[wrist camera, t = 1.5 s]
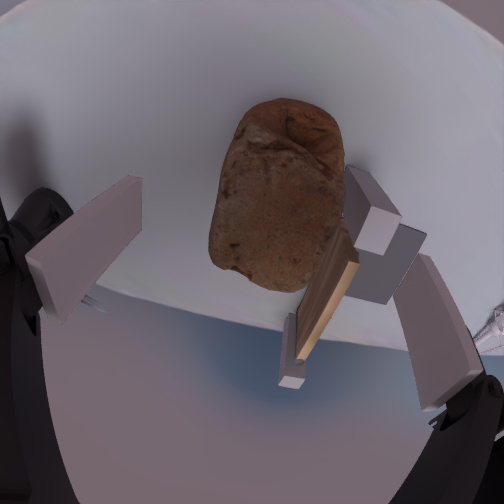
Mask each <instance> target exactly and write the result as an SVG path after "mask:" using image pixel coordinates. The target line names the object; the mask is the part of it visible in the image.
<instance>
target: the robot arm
mask: <svg viewBox="0 0 504 504" xmlns="http://www.w3.org/2000/svg"><path fill="white" fill-rule="evenodd" d="M142 179H143V178H140V177H134V176H129V175H128V176H127V177H125V178H124V179H122V180H121V181H119V182H118V183H116V184H115V185H113V186H112V187H110V188H109V189H107V190H106V191H105V192H103V193H102V194H100V195H99V196H97V197H96V198H95V199H93V200H92V201H90V202H89V203H88V204H86V205H85V206H84V207H82V208H81V209H80V210H78V211H77V212H76V213H74V214H73V212H72V211H71V209H70V207H69V206H68V205H67V203H66V202H65V201H64V200H63V199H62V198H61V197H60V196H59V195H58V194H57V193H55V192H54V191H52V190H50V189H46V188H41V189H38V190H36V191H34V192H33V193H31V194H30V195H28V196H27V197H26V199H25V200H24V202H23V203H22V204H21V206H20V207H19V208H18V210H17V211H16V213H15V214H14V216H13V217H12V218H11V219H10V220H9V221H7V218H6V215H5V211H4V208H3V205H2V201H1V198H0V504H80V503H79V502H78V500H77V498H76V496H75V493H74V491H73V488H72V486H71V483H70V480H69V478H68V475H67V472H66V469H65V466H64V463H63V460H62V457H61V453H60V450H59V446H58V443H57V439H56V435H55V431H54V427H53V422H52V418H51V414H50V408H49V403H48V397H47V391H46V385H45V377H44V369H43V359H42V347H41V330H40V329H41V327H40V316H39V313H38V311H39V310H40V309H41V307H42V306H43V308H44V310H45V312H46V315H47V317H48V318H50V319H52V320H54V321H56V322H57V323H59V324H61V325H63V324H64V322H65V321H66V319H67V318H68V317H69V315H70V314H71V313H72V311H73V310H74V309H75V308H76V306H77V305H78V304H79V302H80V301H81V300H82V298H83V297H84V296H85V295H86V293H87V292H88V291H89V290H90V288H91V287H92V286H93V285H94V284H95V282H96V281H97V280H98V279H99V277H100V276H101V275H102V274H103V273H104V271H105V270H106V269H107V268H108V267H109V266H110V264H111V263H112V262H113V261H114V260H115V259H116V258H117V256H118V255H119V254H120V253H121V252H122V251H123V250H124V248H125V247H126V246H127V245H128V244H129V243H130V242H131V241H132V240H133V239H134V237H135V236H136V235H137V234H138V233H139V232H140V231H141V230H142ZM393 298H394V302H395V305H396V308H397V311H398V314H399V318H400V321H401V325H402V328H403V332H404V335H405V339H406V343H407V347H408V350H409V354H410V359H411V363H412V367H413V371H414V376H415V381H416V385H417V390H418V395H419V401H420V406H421V411H435V410H437V409H438V408H439V407H441V406H442V405H443V404H445V403H446V407H447V409H446V410H445V411H443V412H442V413H441V414H439V415H438V416H437V417H435V418H434V419H432V420H431V421H430V422H429V425H431V424H432V423H433V422H435V421H438V422H437V424H436V425H434V426H433V428H434V430H433V432H432V434H431V436H430V438H429V440H428V442H427V444H426V446H425V447H424V449H423V451H422V453H421V455H420V456H419V458H418V460H417V462H416V463H415V465H414V467H413V468H412V470H411V471H410V473H409V475H408V476H407V478H406V479H405V481H404V482H403V484H402V485H401V487H400V489H399V490H398V491H397V493H396V494H395V496H394V497H393V498H392V500H391V501H390V503H389V504H504V436H503V437H501V438H500V439H498V440H497V441H495V442H494V440H495V436H496V435H497V434H498V433H500V432H501V431H503V430H504V392H503V388H502V385H501V383H500V382H499V381H498V379H497V378H496V377H494V376H493V375H486V372H485V369H484V366H483V364H482V361H481V358H480V355H479V353H478V350H477V348H476V345H475V343H474V341H473V338H472V336H471V333H470V331H469V329H468V328H467V326H466V325H465V323H464V321H463V318H462V316H461V314H460V312H459V310H458V308H457V306H456V304H455V302H454V300H453V298H452V296H451V294H450V292H449V290H448V288H447V286H446V284H445V282H444V281H443V279H442V277H441V275H440V273H439V272H438V270H437V268H436V266H435V265H434V263H433V261H432V259H431V258H430V257H429V256H427V255H424V254H421V253H418V254H417V256H416V258H415V259H414V261H413V263H412V265H411V266H410V268H409V270H408V271H407V273H406V275H405V276H404V278H403V280H402V281H401V283H400V285H399V286H398V288H397V289H396V291H395V292H394V294H393Z"/></svg>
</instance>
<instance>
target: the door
mask: <svg viewBox="0 0 504 504" xmlns="http://www.w3.org/2000/svg"><path fill="white" fill-rule="evenodd" d="M358 258H359V252H357V251H356V249H355V247H353V243H352V240H351V237H350V234H349V230H348V227H347V224H346V221H345V219H342V218H340V222H339V225H338V228H337V230H336V233H335V235H334V238H333V240H332V242H331V245H330V247H329V249H328V251H327V253H326V255H325V257H324V260H323V263H322V265H321V268H320V269H319V271H318V273H317V274H316V276H315V277H314V279H313V281H312V282H311V283H310V285H309V287H308V289H307V292H306V294H305V296H304V298H303V300H302V303H301V305H300V307H299V308H298V309H297V312H296V335H295V354H294V363H295V364H296V365H303V364H304V361H305V359H306V358H307V356H308V355H309V353H310V352H311V350H312V348H313V347H314V345H315V344H316V342H317V340H318V339H319V337H320V335H321V334H322V332H323V330H324V329H325V327H326V325H327V324H328V322H329V320H330V319H331V317H332V315H333V313H334V312H335V310H336V308H337V306H338V305H339V303H340V301H341V299H342V297H343V296H344V294H345V292H346V290H347V288H348V286H349V285H350V283H351V281H352V279H353V277H354V275H355V273H356V271H357V269H358V267H359V265H360V262H359V259H358Z"/></svg>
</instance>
